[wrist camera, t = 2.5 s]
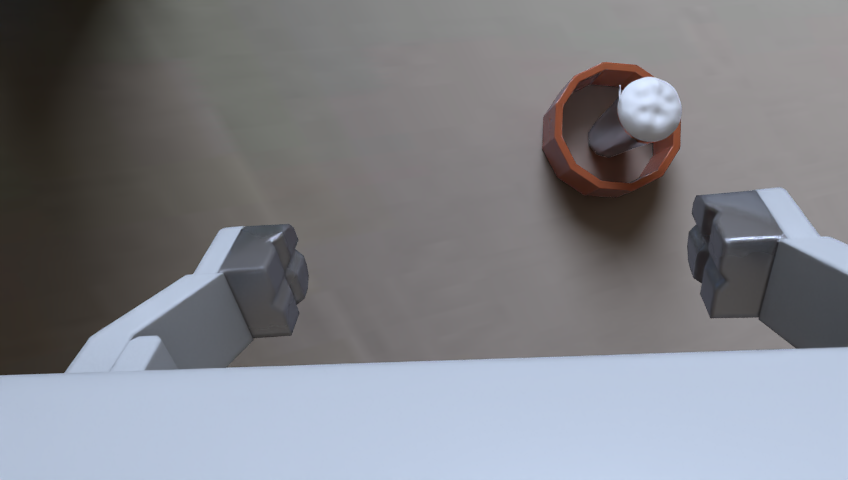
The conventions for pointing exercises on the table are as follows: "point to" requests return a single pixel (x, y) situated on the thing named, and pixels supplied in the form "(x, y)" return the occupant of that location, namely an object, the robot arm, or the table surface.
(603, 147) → the milkshake
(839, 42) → the table surface
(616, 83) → the orange round shallow bowl
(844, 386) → the robot arm
